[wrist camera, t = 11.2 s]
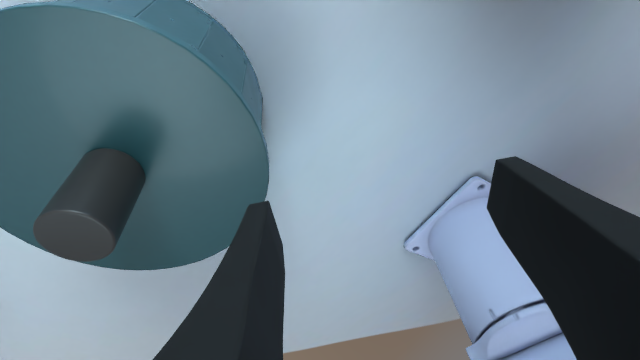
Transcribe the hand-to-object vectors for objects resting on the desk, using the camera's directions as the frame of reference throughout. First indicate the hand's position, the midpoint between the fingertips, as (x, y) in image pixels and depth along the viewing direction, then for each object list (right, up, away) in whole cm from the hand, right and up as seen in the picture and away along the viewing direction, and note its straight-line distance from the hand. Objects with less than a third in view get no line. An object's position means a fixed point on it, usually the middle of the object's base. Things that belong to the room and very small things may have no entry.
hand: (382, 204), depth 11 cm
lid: (-10, +1, +3) cm, 11 cm away
